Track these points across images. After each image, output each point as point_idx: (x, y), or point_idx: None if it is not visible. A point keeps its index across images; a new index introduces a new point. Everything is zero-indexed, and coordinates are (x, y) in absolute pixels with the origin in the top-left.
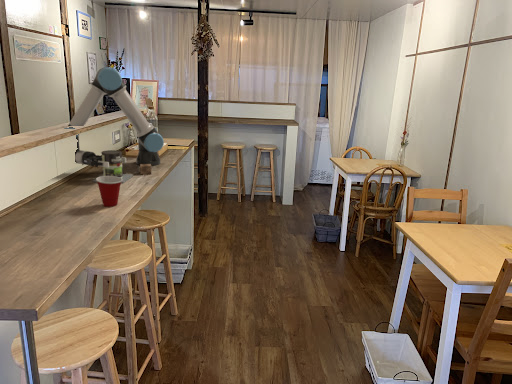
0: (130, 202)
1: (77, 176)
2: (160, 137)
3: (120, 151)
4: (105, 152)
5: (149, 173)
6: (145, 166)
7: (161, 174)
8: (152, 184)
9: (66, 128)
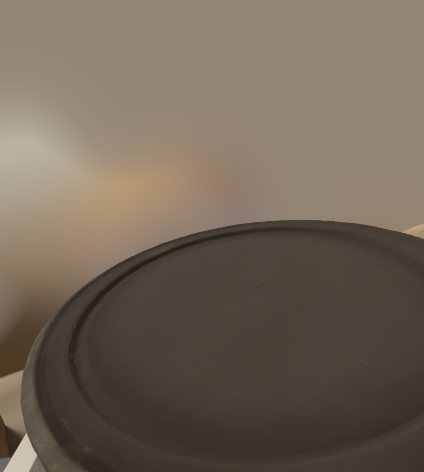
0: (417, 236)
1: None
2: None
3: (123, 266)
4: (396, 314)
5: (4, 428)
6: None
7: (9, 380)
8: None
9: None
